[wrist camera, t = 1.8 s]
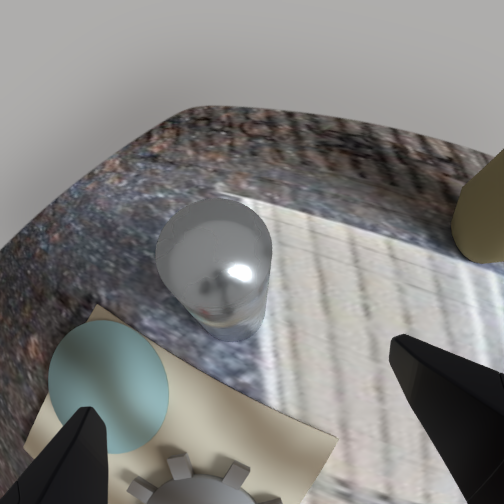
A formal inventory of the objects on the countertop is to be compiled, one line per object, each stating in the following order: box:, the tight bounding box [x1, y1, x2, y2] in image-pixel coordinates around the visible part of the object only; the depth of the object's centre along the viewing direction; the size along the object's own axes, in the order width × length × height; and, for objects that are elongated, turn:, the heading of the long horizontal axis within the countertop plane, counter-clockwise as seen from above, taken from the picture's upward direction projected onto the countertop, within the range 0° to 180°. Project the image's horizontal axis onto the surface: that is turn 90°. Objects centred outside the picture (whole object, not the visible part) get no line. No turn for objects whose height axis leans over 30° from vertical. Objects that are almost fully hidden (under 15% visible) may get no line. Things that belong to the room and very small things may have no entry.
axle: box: [156, 198, 272, 342], centre depth 18 cm, size 5×5×11 cm
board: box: [23, 304, 339, 504], centre depth 17 cm, size 16×22×4 cm
